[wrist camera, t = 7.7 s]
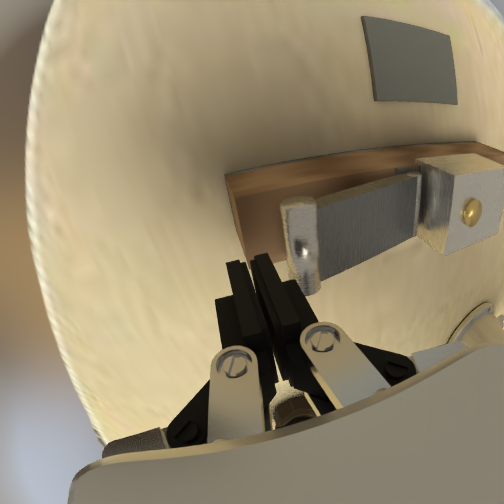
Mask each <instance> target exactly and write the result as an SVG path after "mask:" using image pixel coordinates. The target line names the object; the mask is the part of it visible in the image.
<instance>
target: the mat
mask: <svg viewBox="0 0 504 504" xmlns="http://www.w3.org/2000/svg"><path fill="white" fill-rule="evenodd" d="M361 19H362V23H363V28H364V33H365V38H366V43H367V49H368V55H369V61H370V68H371V75H372V83H373V91H374V100H375V101H407V102H428V103H442V104H453V105H458V102H457V87H456V77H455V68H454V60H453V53H452V47H451V41H450V36H449V35H445V34H442V33H439V32H436V31H433V30H429V29H425V28H422V27H418V26H414V25H410V24H406V23H401V22H396V21H392V20H386V19H381V18H375V17H368V16H362V17H361Z"/></svg>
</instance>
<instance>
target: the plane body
mask: <svg viewBox="0 0 504 504" xmlns="http://www.w3.org/2000/svg"><path fill="white" fill-rule="evenodd" d="M470 153H475V154H477V155H480V156H482V157H485V158H487V159H490V160H492V161H495V162H497V163H499V164H502V165H504V152H503V151H500V150H498V149H495V148H492V147H490V146H487V145H484V144H481V143H478V142H449V143H431V144H416V145H404V146H393V147H384V148H374V149H366V150H358V151H350V152H343V153H336V154H329V155H323V156H317V157H311V158H305V159H299V160H293V161H288V162H282V163H277V164H272V165H267V166H262V167H257V168H252V169H248V170H243V171H239V172H234V173H230V174H226V175H224V176H225V180H226V185H227V189H228V194H229V199H230V203H231V208H232V212H233V217H234V221H235V226H236V230H237V234H238V237H239V240H240V243H241V246H242V248H243V251H244V254H245V257H246V260H247V263H248V266H249V269H251V267H250V260H254V256H255V255H259V254H263V253H268V255H269V257H270V259H271V261H272V263H276V262H280V261H283V260H287V256H286V248H285V240H284V233H283V225H282V218H281V210H280V203H281V202H282V201H283V200H285V199H288V198H291V197H297V196H307V197H311V198H313V199H317V198H320V197H323V196H326V195H330V194H333V193H336V192H339V191H343V190H346V189H349V188H353V187H356V186H359V185H363V184H366V183H370V182H373V181H376V180H380V179H383V178H387V177H390V176H394V175H397V174H401V173H405V172H407V171H415V167H414V166H415V159H417V158H426V157H435V156H446V155H457V154H470Z"/></svg>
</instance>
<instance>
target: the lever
mask: <svg viewBox="0 0 504 504" xmlns="http://www.w3.org/2000/svg"><path fill="white" fill-rule="evenodd" d="M421 183H422V174H421V173H419V172H415V171H407V172H405V173H401V174H397V175H394V176H390V177H387V178H383V179H380V180H376V181H373V182H370V183H366V184H363V185H359V186H356V187H353V188H349V189H346V190H343V191H339V192H336V193H333V194H330V195H326V196H323V197H320V198H317V199H313V198H311V197H307V196H297V197H291V198H288V199H285V200H283V201H282V202H281V203H280V210H281V218H282V225H283V233H284V240H285V248H286V256H287V264H288V272H289V280H292V279H295V280H296V281H297V283H298V285H299V287H300V288H301V290H302V292H303V294H304V296H310V295H313V294H315V293H317V292H318V291H319V290H320V288H321V281H323V280H326V279H328V278H330V277H332V276H334V275H336V274H339V273H341V272H343V271H345V270H347V269H349V268H351V267H353V266H355V265H358V264H360V263H362V262H364V261H366V260H368V259H370V258H372V257H374V256H376V255H378V254H380V253H382V252H384V251H386V250H388V249H390V248H392V247H394V246H396V245H398V244H400V243H402V242H404V241H406V240H408V239H410V238H411V237H414V236H416V235H417V229H418V220H419V210H420V199H421Z"/></svg>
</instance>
